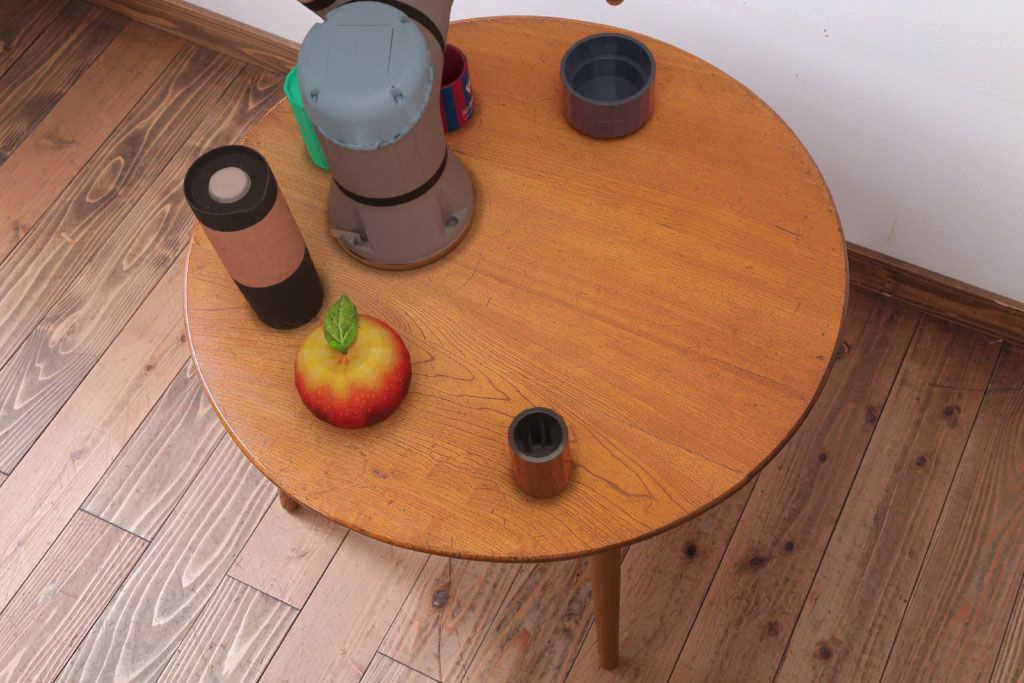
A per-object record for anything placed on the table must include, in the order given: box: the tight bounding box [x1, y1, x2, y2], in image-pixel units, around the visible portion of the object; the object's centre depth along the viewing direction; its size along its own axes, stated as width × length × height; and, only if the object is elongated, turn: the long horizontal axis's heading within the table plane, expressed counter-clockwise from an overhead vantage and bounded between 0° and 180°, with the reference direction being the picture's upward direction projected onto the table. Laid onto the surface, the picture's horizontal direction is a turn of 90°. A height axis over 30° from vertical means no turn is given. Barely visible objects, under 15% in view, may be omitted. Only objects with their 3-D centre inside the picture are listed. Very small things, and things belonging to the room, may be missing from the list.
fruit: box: [293, 292, 413, 430], centre depth 93 cm, size 11×11×10 cm
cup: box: [440, 43, 475, 133], centre depth 111 cm, size 7×10×7 cm
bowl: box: [559, 32, 657, 139], centre depth 109 cm, size 10×10×6 cm
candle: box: [283, 64, 330, 171], centre depth 107 cm, size 6×6×12 cm
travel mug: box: [182, 144, 324, 331], centre depth 95 cm, size 8×8×20 cm
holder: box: [507, 406, 572, 500], centre depth 89 cm, size 5×5×9 cm
